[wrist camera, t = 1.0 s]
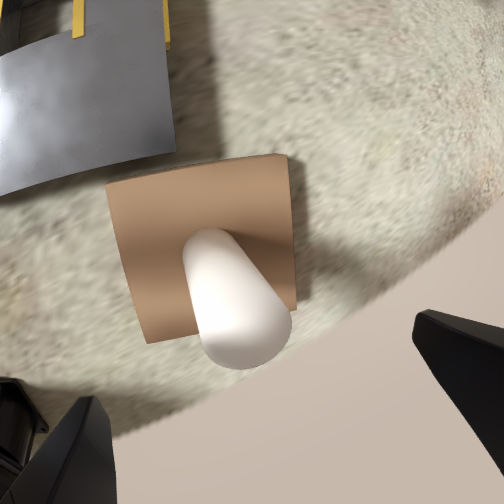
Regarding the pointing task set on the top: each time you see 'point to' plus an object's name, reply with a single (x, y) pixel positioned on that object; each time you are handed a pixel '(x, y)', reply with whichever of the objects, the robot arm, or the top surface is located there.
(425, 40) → the top surface
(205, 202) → the brown square slab
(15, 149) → the plate
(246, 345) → the white peg
